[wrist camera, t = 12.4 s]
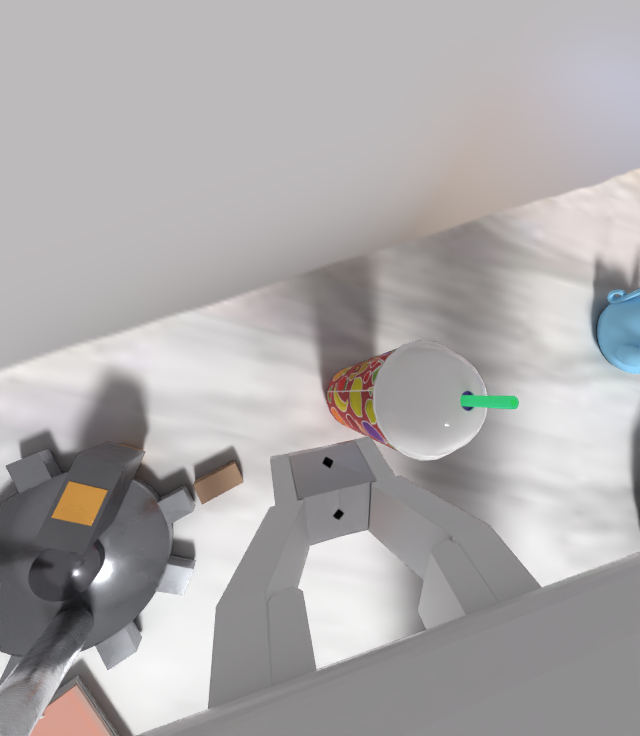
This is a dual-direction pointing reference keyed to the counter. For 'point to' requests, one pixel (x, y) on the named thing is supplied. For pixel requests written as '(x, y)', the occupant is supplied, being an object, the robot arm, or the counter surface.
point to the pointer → (218, 482)
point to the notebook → (73, 714)
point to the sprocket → (76, 585)
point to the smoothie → (414, 400)
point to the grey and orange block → (89, 497)
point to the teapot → (621, 330)
